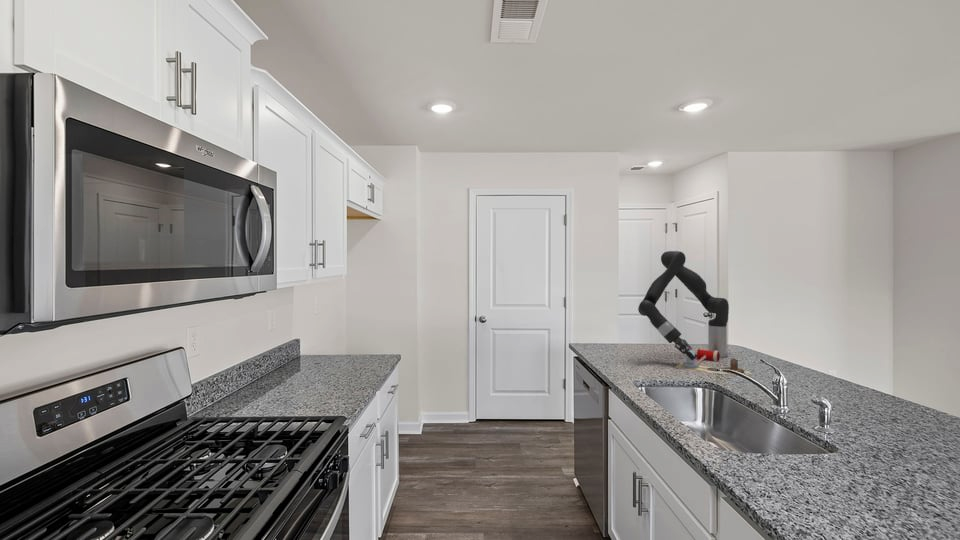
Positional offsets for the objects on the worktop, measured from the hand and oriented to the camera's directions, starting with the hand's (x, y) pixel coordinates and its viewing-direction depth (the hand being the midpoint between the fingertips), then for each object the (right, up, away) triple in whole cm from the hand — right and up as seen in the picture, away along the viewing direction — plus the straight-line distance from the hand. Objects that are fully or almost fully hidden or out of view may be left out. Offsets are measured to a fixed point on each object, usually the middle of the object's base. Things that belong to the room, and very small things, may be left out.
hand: (694, 358), depth 218 cm
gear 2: (+14, -5, -10) cm, 18 cm away
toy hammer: (+13, -6, +16) cm, 21 cm away
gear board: (+6, -6, -4) cm, 10 cm away
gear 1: (-2, -5, +1) cm, 5 cm away
